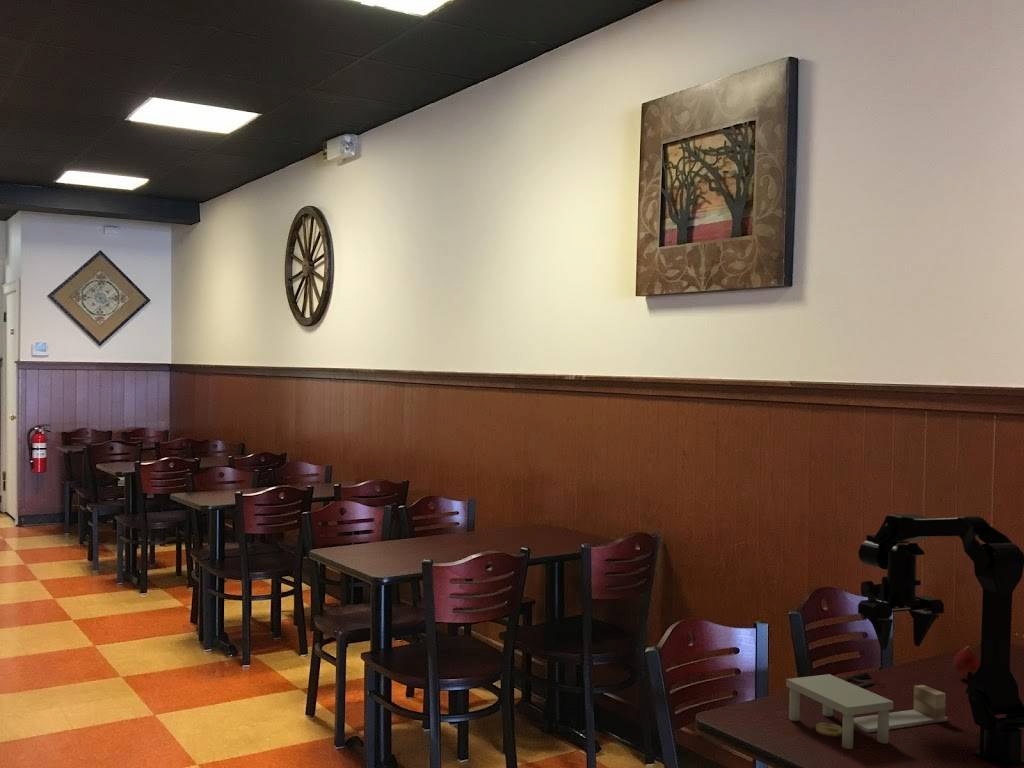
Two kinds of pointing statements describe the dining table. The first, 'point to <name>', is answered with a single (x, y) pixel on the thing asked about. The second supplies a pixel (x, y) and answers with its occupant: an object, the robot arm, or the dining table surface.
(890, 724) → the scraper
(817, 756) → the dining table surface
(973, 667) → the onion
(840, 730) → the token
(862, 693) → the miniature white bench
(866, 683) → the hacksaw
